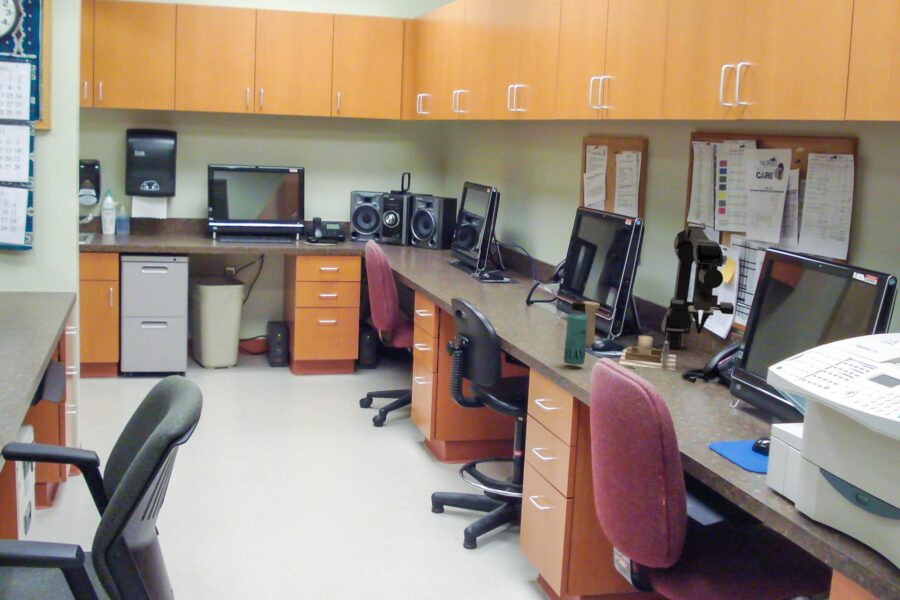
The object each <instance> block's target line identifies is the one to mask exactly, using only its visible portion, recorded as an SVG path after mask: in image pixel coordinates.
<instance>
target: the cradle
mask: <svg viewBox="0 0 900 600" xmlns="http://www.w3.org/2000/svg"><path fill="white" fill-rule="evenodd" d="M637 350H638V346H629V345H628V346H627V349H623V350H622V353H621V354H620V355H621V356H620V359H619V362H618V365H619V364H621V365H623V366H625V367H626V369H636V368H635V367H643V368H644V367H645V368H652V369H662V370H670V371H671V370H672V371H675V370H676V361H677V360H676V359H677V355H676V354H669V353H668V355H667V360H666V365H662V357H663V355H662V354H663V349H658V348H657V349H656V348H652V351H651V355H648V354H639V353H637ZM633 366H635V367H633Z"/></svg>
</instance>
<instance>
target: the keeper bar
mask: <svg viewBox="0 0 900 600" xmlns="http://www.w3.org/2000/svg"><path fill="white" fill-rule="evenodd" d="M669 350H670V349H669V341H666V340H663V346H662V355H663V357H662V365H666V360H667V355H668V354H669Z"/></svg>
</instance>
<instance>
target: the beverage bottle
mask: <svg viewBox="0 0 900 600" xmlns="http://www.w3.org/2000/svg"><path fill="white" fill-rule="evenodd" d="M571 305H572V306H571V310H573V311H579V312H571V313H570V314H568V315H567V318H566V320H567V321H566V329H565V330H566V331H565V332H566V334H565V341H564V351H563V353H564V354H563V363H564V364H567V365H574V366H580V365H584V363H585V360H586V348H587V347H586V346H587V345H586V335H587V321H588V317H587V316H586V315H585V313H582V312H583V311H584V312H585V311H586V309H585V303H583V302H578V301H575V302H572V304H571Z"/></svg>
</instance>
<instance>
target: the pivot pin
mask: <svg viewBox="0 0 900 600" xmlns="http://www.w3.org/2000/svg"><path fill="white" fill-rule="evenodd" d="M653 339H654V338H653V336H650V335H638V342H637V347H638V350H637V353H639V354H648V355H651V351H652V349H653Z"/></svg>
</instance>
